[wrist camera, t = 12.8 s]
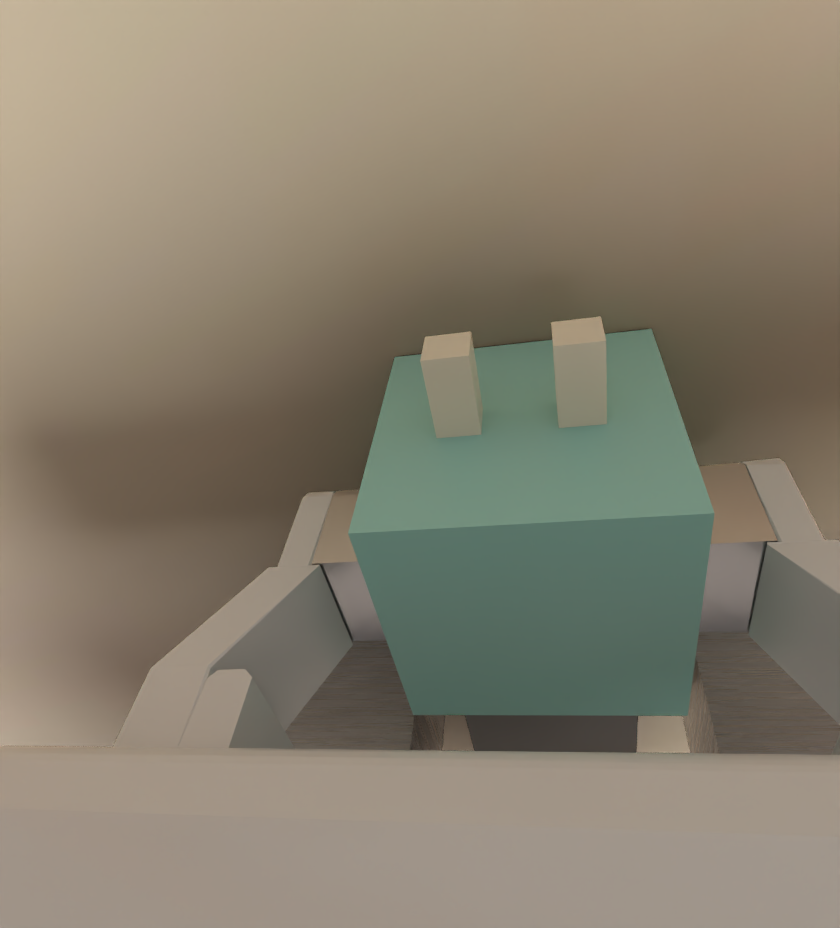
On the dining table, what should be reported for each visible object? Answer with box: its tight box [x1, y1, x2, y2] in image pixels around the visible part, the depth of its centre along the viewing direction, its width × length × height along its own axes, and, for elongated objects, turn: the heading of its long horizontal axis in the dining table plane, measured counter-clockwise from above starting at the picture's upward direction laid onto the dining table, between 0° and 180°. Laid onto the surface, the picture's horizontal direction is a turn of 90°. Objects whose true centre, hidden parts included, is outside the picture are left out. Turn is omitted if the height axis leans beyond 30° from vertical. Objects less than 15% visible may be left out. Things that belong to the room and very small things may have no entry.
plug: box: [348, 316, 715, 753], centre depth 12 cm, size 14×4×4 cm, turn 11°
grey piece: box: [285, 632, 840, 755], centre depth 12 cm, size 3×15×8 cm, turn 101°
